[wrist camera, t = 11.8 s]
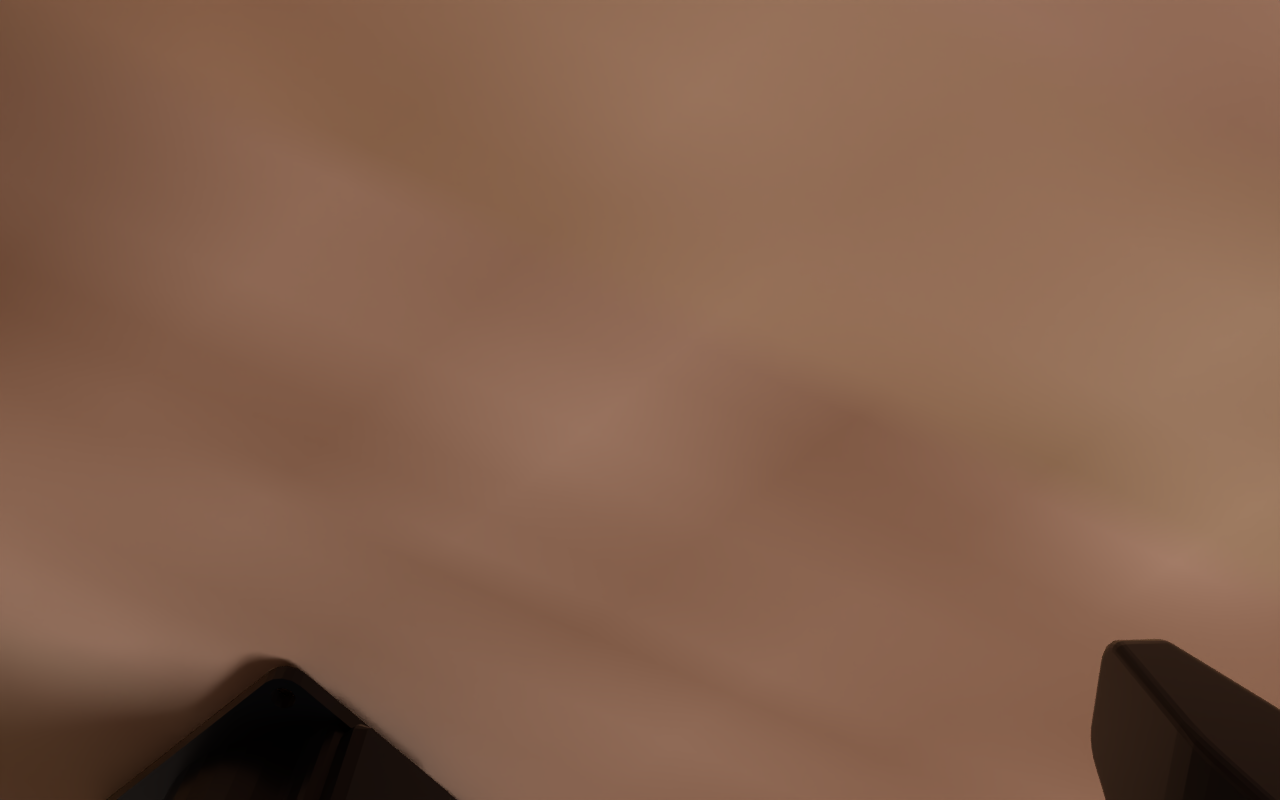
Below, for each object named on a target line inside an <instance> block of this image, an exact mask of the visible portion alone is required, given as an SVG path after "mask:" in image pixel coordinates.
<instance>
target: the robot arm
mask: <svg viewBox="0 0 1280 800" xmlns="http://www.w3.org/2000/svg"><path fill="white" fill-rule="evenodd" d="M278 688H284V689H287V690H289V691H291V692H292V693H293V694H294V695H293V696H287V695H284V694H282V693H280V692H279V691H278ZM1091 746H1092V753H1093V758H1094V762H1095V766H1096V769H1097V773H1098V776H1099V779H1100V782H1101V786H1102V789H1103V792H1104V796H1105V799H1106V800H1280V709H1278V708H1277V707H1275V706H1274V705H1272V704H1270V703H1269V702H1267V701H1265V700H1264V699H1262V698H1260V697H1259V696H1257V695H1256V694H1254V693H1252V692H1251V691H1249V690H1247V689H1246V688H1244V687H1242V686H1241V685H1239V684H1238V683H1236V682H1234V681H1233V680H1231V679H1229V678H1228V677H1226V676H1224V675H1223V674H1221V673H1220V672H1218V671H1216V670H1215V669H1213V668H1211V667H1210V666H1208V665H1207V664H1205V663H1203V662H1202V661H1200V660H1198V659H1197V658H1195V657H1193V656H1192V655H1190V654H1189V653H1187V652H1185V651H1184V650H1182V649H1180V648H1179V647H1177V646H1175V645H1174V644H1172V643H1170V642H1168V641H1165V640H1161V639H1145V640H1116V641H1113V642H1112V643H1111V644H1109V645H1108V646H1107V647H1106V649H1105V651H1104V653H1103V656H1102V660H1101V667H1100V673H1099V680H1098V686H1097V693H1096V699H1095V706H1094V712H1093V719H1092V726H1091ZM107 800H456V799H455V798H454V797H452V796H451V795H450V794H449V793H448V792H447V791H446V790H445V789H444V788H443V787H441V786H440V785H439V784H438V783H437V782H435V781H434V780H433V779H432V778H431V777H429V776H428V775H427V774H426V773H425V772H423V771H422V770H421V769H420V768H419V767H417V766H416V765H415V764H414V763H413V762H411V761H410V760H409V759H408V758H407V757H405V756H404V755H403V754H402V753H401V752H399V751H398V750H397V749H396V748H395V747H393V746H392V745H391V744H390V743H389V742H387V741H386V740H385V739H384V738H383V737H381V736H380V735H379V734H378V733H377V732H375V731H374V730H373V729H372V728H370V727H369V726H367V725H366V724H365V723H364V722H363V721H361V720H360V719H359V718H358V717H357V716H355V715H354V714H353V713H352V712H351V711H349V710H348V709H347V708H346V707H345V706H343V705H342V704H341V703H340V702H339V701H337V700H336V699H335V698H334V697H333V696H331V695H330V694H329V693H328V692H327V691H325V690H324V689H323V688H322V687H321V686H320V685H318V684H317V683H316V682H315V681H314V680H312V679H311V678H310V677H309V676H308V675H306V674H305V673H304V672H302V671H300V670H298V669H297V668H293V667H288V666H285V667H277V668H275V669H273V670H271V671H270V672H268V673H267V674H266V675H264V676H263V677H262V678H261V679H259V680H258V681H257V682H256V683H254V684H253V685H252V686H250V687H249V688H248V689H247V690H245V691H244V692H243V693H242V694H240V695H239V696H238V697H237V698H235V699H234V700H233V701H231V702H230V703H229V704H228V705H226V706H225V707H224V708H223V709H221V710H220V711H219V712H218V713H216V714H215V715H214V716H212V717H211V718H210V719H209V720H207V721H206V722H205V723H204V724H202V725H201V726H200V727H198V728H197V729H196V730H195V731H193V732H192V733H191V734H190V735H188V736H187V737H186V738H185V739H183V740H182V741H181V742H179V743H178V744H177V745H176V746H174V747H173V748H172V749H171V750H169V751H168V752H167V753H165V754H164V755H163V756H162V757H160V758H159V759H158V760H157V761H155V762H154V763H153V764H152V765H150V766H149V767H148V768H146V769H145V770H144V771H143V772H141V773H140V774H139V775H138V776H136V777H135V778H134V779H133V780H131V781H130V782H129V783H127V784H126V785H125V786H124V787H122V788H121V789H120V790H119V791H117V792H116V793H115V794H113V795H112V796H111V797H110V798H108V799H107Z"/></svg>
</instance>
